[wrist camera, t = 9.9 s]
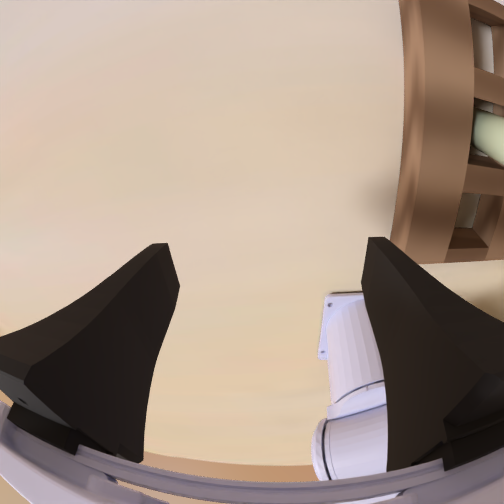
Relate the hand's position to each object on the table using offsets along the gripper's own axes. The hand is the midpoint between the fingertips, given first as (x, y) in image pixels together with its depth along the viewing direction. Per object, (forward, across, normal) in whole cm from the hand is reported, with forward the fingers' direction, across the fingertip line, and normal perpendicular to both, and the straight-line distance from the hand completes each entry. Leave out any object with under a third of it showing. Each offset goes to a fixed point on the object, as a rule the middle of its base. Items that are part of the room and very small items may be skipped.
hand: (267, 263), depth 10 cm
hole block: (+10, -15, -4) cm, 19 cm away
